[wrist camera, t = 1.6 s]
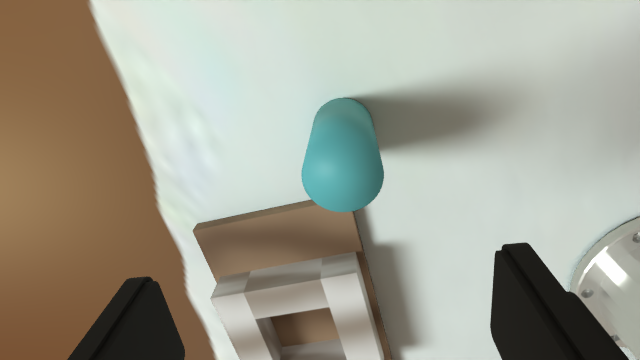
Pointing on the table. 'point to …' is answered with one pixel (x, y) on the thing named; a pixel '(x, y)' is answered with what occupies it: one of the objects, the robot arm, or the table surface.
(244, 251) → the socket board
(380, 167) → the peg
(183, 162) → the table surface
